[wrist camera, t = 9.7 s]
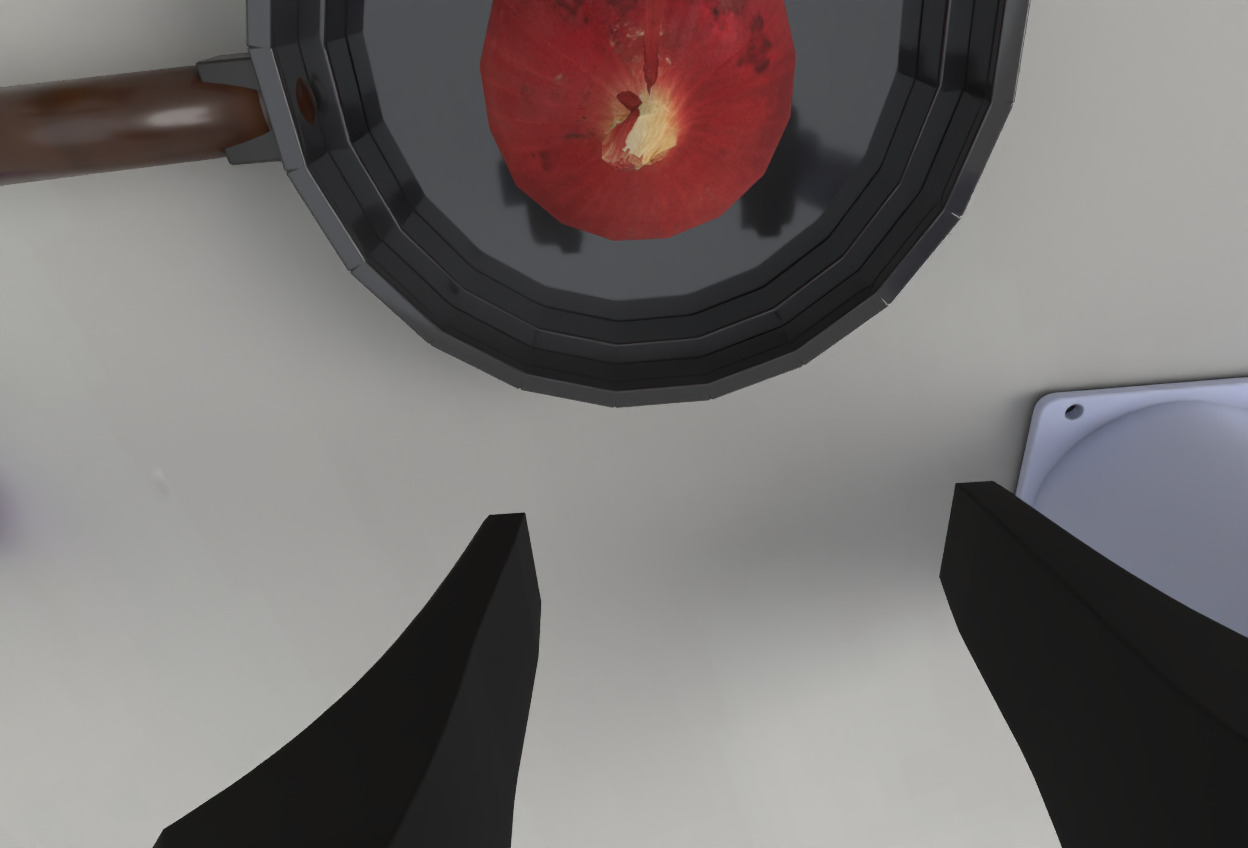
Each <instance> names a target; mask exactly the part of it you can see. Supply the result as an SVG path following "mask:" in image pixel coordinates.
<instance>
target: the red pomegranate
mask: <svg viewBox="0 0 1248 848" xmlns="http://www.w3.org/2000/svg"><path fill="white" fill-rule="evenodd" d="M795 62H796V52H795V48H794V43H793V39H792V34H791V30H790V26H789V21H788V17H787V12H786V8H785V4H784V0H493V3H492V7H491V12H490V17H489V21H488V26H487V31H486V36H485V40H484V45H483V50H482V54H481V59H480V64H479V66H480V73H481V79H482V85H483V92H484V98H485V104H486V111H487V117H488V123H489V129H490V131H491V133H492V136H493V138H494V140H495V142H496V144H497V146H498V148H499V150H500V153H501V155H502V157H503V159H504V161H505V163H506V165H507V167H508V169H509V172H510V174H511V176H512V178H513V180H514V182H515V184H516V186H517V187H518V188H520V189H521V190H522V191H523V192H524V193H526V194H527V195H528V196H529V197H530V198H532V199H533V200H534V201H535V202H536V203H538V204H539V205H540V206H541V207H542V208H544V209H545V210H546V211H547V212H548V213H550V214H551V215H552V216H553V217H554V218H556V219H557V220H558V221H559V222H560V223H562V224H565V225H568V226H571V227H574V228H577V229H580V230H583V231H586V232H589V233H592V234H594V235H597V236H600V237H603V238H606V239H609V240H612V241H622V240H643V239H663V238H670V237H672V236H674V235H677V234H679V233H682V232H684V231H687V230H689V229H691V228H694V227H696V226H699V225H701V224H703V223H706V222H708V221H711V220H713V219H716V218H718V217H720V216H721V215H723V214H724V213H725V212H726V211H727V210H728V209H729V208H730V207H731V206H732V205H733V204H734V203H735V202H736V201H737V200H738V199H739V198H740V197H741V196H742V195H743V194H744V193H745V192H746V191H747V190H748V189H749V188H750V187H751V186H752V185H753V184H755V183H756V182H757V181H758V180H759V179H760V178H761V177H762V176H763V175H764V174H765V172H766V169H767V167H768V165H769V163H770V161H771V158H772V156H773V154H774V152H775V150H776V148H777V145H778V143H779V141H780V139H781V137H782V134H783V132H784V130H785V128H786V126H787V123H788V121H789V119H790V117H791V106H792V95H793V84H794V73H795Z"/></svg>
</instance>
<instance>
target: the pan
mask: <svg viewBox="0 0 1248 848" xmlns="http://www.w3.org/2000/svg"><path fill="white" fill-rule="evenodd" d="M1030 1H1031V0H784V4H785V8H786V12H787V17H788V21H789V26H790V30H791V34H792V39H793V43H794V48H795V52H796V62H795V73H794V84H793V95H792V106H791V117H790V119H789V121H788V123H787V126H786V128H785V130H784V132H783V134H782V137H781V139H780V141H779V143H778V145H777V148H776V150H775V152H774V154H773V156H772V158H771V161H770V163H769V165H768V167H767V169H766V172H765V174H764V175H763V176H762V177H761V178H760V179H759V180H758V181H757V182H756V183H755V184H753V185H752V186H751V187H750V188H749V189H748V190H747V191H746V192H745V193H744V194H743V195H742V196H741V197H740V198H739V199H738V200H737V201H736V202H735V203H734V204H733V205H732V206H731V207H730V208H729V209H728V210H727V211H726V212H725V213H724V214H723V215H721V216H720V217H718V218H716V219H713V220H711V221H708V222H706V223H703V224H701V225H699V226H696V227H694V228H691V229H689V230H687V231H684V232H682V233H679V234H677V235H674V236H672V237H670V238H663V239H643V240H622V241H612V240H609V239H606V238H603V237H600V236H597V235H594V234H592V233H589V232H586V231H583V230H580V229H577V228H574V227H571V226H568V225H565V224H562V223H560V222H559V221H558V220H557V219H556V218H554V217H553V216H552V215H551V214H550V213H548V212H547V211H546V210H545V209H544V208H542V207H541V206H540V205H539V204H538V203H536V202H535V201H534V200H533V199H532V198H530V197H529V196H528V195H527V194H526V193H524V192H523V191H522V190H521V189H520V188H518V187H517V186H516V184H515V182H514V180H513V178H512V176H511V174H510V172H509V169H508V167H507V165H506V163H505V161H504V159H503V157H502V155H501V153H500V150H499V148H498V146H497V144H496V142H495V140H494V138H493V136H492V133H491V131H490V129H489V123H488V117H487V111H486V104H485V98H484V92H483V85H482V79H481V73H480V66H479V64H480V59H481V54H482V50H483V45H484V40H485V36H486V31H487V26H488V21H489V17H490V12H491V7H492V3H493V0H246V31H247V46H249V47H248V52H249V56H250V59H251V62H252V65H253V69H254V72H255V75H256V78H257V82H258V85H259V88H260V91H261V95H262V98H263V101H264V104H265V108H266V111H267V114H268V117H269V121H270V124H271V127H272V130H273V134H274V137H275V140H276V143H277V147H278V150H279V153H280V156H281V160H282V163H283V166H284V169H285V171H287V176H288V177H289V179H290V180H291V182H292V183H293V185H294V187H295V188H296V190H297V191H298V193H299V194H300V196H301V197H302V199H303V201H304V202H305V204H306V205H307V207H308V208H309V210H310V212H311V213H312V215H313V216H314V218H315V219H316V221H317V223H318V224H319V226H320V227H321V229H322V230H323V232H324V233H325V235H326V237H327V238H328V240H329V241H330V243H331V244H332V246H333V248H334V249H335V251H336V252H337V254H338V255H339V257H340V259H341V260H342V262H343V263H344V265H345V266H346V268H347V269H348V270H349V271H350V273H351V274H352V275H353V276H354V277H355V278H356V279H357V280H358V281H360V282H361V283H362V284H363V285H364V286H365V287H366V288H367V289H368V290H370V291H371V292H372V293H373V294H374V295H375V296H376V297H377V298H378V299H380V300H381V301H382V302H383V303H384V304H385V305H386V306H387V307H388V308H390V309H391V310H392V311H393V312H394V313H395V314H396V315H397V316H398V317H400V318H401V319H402V320H403V321H404V322H405V323H406V324H407V325H408V326H410V327H411V328H412V329H413V330H414V331H415V332H416V333H417V334H418V335H420V336H421V337H422V338H423V339H424V340H425V341H426V342H427V343H431V345H432V346H433V347H435V348H437V349H439V350H441V351H443V352H445V353H447V354H449V355H451V356H454V357H456V358H458V359H460V360H462V361H464V362H466V363H468V364H470V365H472V366H474V367H476V368H478V369H480V370H482V371H484V372H486V373H488V374H490V375H492V376H494V377H496V378H498V379H500V380H502V381H504V382H506V383H508V384H510V385H512V386H514V387H516V388H518V389H519V388H521V390H524V391H530V392H535V393H540V394H545V395H550V396H556V397H561V398H566V399H571V400H576V401H582V402H587V403H592V404H597V405H602V406H607V407H616V408H620V407H632V406H644V405H656V404H669V403H681V402H693V401H705V400H710V398H711V399H715V398H718V397H720V396H723V395H726V394H728V393H731V392H734V391H737V390H739V389H742V388H745V387H747V386H750V385H753V384H756V383H758V382H761V381H764V380H766V379H769V378H772V377H775V376H777V375H780V374H783V373H786V372H788V371H791V370H794V369H796V368H799V367H802V366H803V365H806V364H807V363H808V362H810V361H811V360H813V359H814V358H815V357H817V356H818V355H820V354H821V353H823V352H824V351H825V350H827V349H828V348H830V347H831V346H832V345H834V344H835V343H837V342H838V341H839V340H841V339H842V338H844V337H845V336H846V335H848V334H849V333H851V332H852V331H853V330H855V329H856V328H858V327H859V326H860V325H862V324H863V323H865V322H866V321H868V320H869V319H870V318H872V317H873V316H875V315H876V314H877V313H879V312H880V311H882V310H883V309H884V308H886V307H887V306H888V304H890V303H891V302H892V301H893V300H894V299H895V297H896V296H897V295H898V294H899V293H900V291H901V290H902V289H903V288H904V286H905V285H906V284H907V283H908V282H909V280H910V279H911V278H912V277H913V276H914V274H915V273H916V272H917V271H918V270H919V268H920V267H921V266H922V265H923V263H924V262H925V261H926V260H927V259H928V257H929V256H930V255H931V254H932V253H933V251H934V250H935V249H936V248H937V247H938V245H939V244H940V243H941V242H942V240H943V239H944V238H945V237H946V236H947V234H948V233H949V232H950V231H951V230H952V228H953V227H954V226H955V225H956V224H957V222H958V221H959V220H960V218H961V217H960V216H962V215H963V213H964V211H965V209H966V207H967V205H968V202H969V200H970V198H971V196H972V194H973V192H974V189H975V187H976V185H977V183H978V181H979V178H980V176H981V174H982V172H983V170H984V167H985V165H986V163H987V161H988V159H989V157H990V154H991V152H992V150H993V148H994V146H995V143H996V141H997V139H998V137H999V135H1000V132H1001V130H1002V128H1003V126H1004V124H1005V122H1006V119H1007V117H1008V115H1009V113H1010V111H1011V108H1012V106H1013V104H1012V103H1013V102H1014V100H1015V94H1016V88H1017V82H1018V76H1019V69H1020V63H1021V57H1022V51H1023V45H1024V38H1025V32H1026V26H1027V20H1028V14H1029V7H1030ZM299 77H303V78H304V79H305V80H306V81H307V82H308V84H309V85H310V87H311V89H312V91H313V93H314V96H315V99H316V103H317V118H316V122H315V124H314V125H313V126H311V125H309V124H308V123H307V122H306V120H305V119H304V117H303V115H302V112H301V110H300V107H299V103H298V99H297V90H296V87H297V80H298V78H299Z"/></svg>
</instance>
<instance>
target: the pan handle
mask: <svg viewBox="0 0 1248 848" xmlns="http://www.w3.org/2000/svg"><path fill="white" fill-rule="evenodd" d="M296 90H297V99H298V103H299V107H300V110H301V112H302V115H303V117H304V119H305V120H306V122H307V123H308V124H309V125H311V126H313V125H314V124H315V122H316V118H317V103H316V99H315V96H314V93H313V91H312V89H311V87H310V85H309V84H308V82H307V81H306V80H305V79H304V78H303V77H299V78H298V80H297V87H296ZM223 157H227V158H228V161H229V163H230V164H231V165H242V164H252V163H263V162H273V161H282V160H281V156H280V153H279V150H278V147H277V143H276V140H275V137H274V134H273V130H272V127H271V124H270V121H269V117H268V114H267V111H266V108H265V104H264V101H263V98H262V95H261V91H260V88H259V85H258V82H257V78H256V75H255V72H254V69H253V65H252V62H251V59H250V56H249V53H240V54H230V55H221V56H217V57H213V58H210V59H206V60H202V61H199V62H197V63H196V65H194V66H186V67H177V68H168V69H159V70H150V71H141V72H133V73H124V74H115V75H106V76H97V77H88V78H80V79H71V80H62V81H53V82H44V83H35V84H27V85H18V86H9V87H0V186H1V185H9V184H17V183H25V182H33V181H41V180H49V179H57V178H65V177H73V176H80V175H88V174H96V173H104V172H112V171H120V170H128V169H136V168H144V167H152V166H159V165H167V164H175V163H183V162H191V161H199V160H207V159H215V158H223Z"/></svg>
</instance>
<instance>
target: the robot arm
mask: <svg viewBox="0 0 1248 848" xmlns="http://www.w3.org/2000/svg"><path fill="white" fill-rule="evenodd" d="M1075 404H1077V405H1076V407H1075V408H1074V409H1073V410H1072V411H1071V412H1068V413H1065V412H1066V410H1067V408H1069V407H1070V406H1071V405H1075ZM939 577H940V580H941V583H942V586H943V589H944V592H945V595H946V597H947V600H948V603H949V606H950V609H951V611H952V614H953V617H954V619H955V622H956V625H957V627H958V630H959V632H960V634H961V636H962V638H963V640H964V642H965V644H966V646H967V648H968V650H969V652H970V654H971V656H972V658H973V659H974V661H975V663H976V665H977V667H978V669H979V671H980V673H981V675H982V677H983V679H984V681H985V682H986V684H987V686H988V688H989V690H990V692H991V694H992V696H993V698H994V699H995V701H996V703H997V705H998V707H999V709H1000V711H1001V713H1002V715H1003V717H1004V718H1005V720H1006V722H1007V724H1008V726H1009V728H1010V730H1011V732H1012V734H1013V735H1014V737H1015V739H1016V741H1017V743H1018V745H1019V747H1020V749H1021V751H1022V753H1023V755H1024V757H1025V759H1026V761H1027V763H1028V765H1029V768H1030V770H1031V772H1032V774H1033V776H1034V778H1035V781H1036V783H1037V786H1038V788H1039V791H1040V793H1041V796H1042V798H1043V801H1044V803H1045V806H1046V808H1047V811H1048V813H1049V816H1050V818H1051V821H1052V823H1053V826H1054V828H1055V830H1056V833H1057V835H1058V838H1059V841H1060V843H1061V846H1062V848H1248V377H1242V378H1230V379H1217V380H1205V381H1193V382H1181V383H1168V384H1156V385H1144V386H1131V387H1119V388H1107V389H1095V390H1082V391H1070V392H1058V393H1051V394H1047V395H1046V396H1044V397H1042V398H1041V399H1040V400H1039V401H1038V402H1037V403H1036V405H1035V407H1034V411H1033V415H1032V420H1031V425H1030V429H1029V434H1028V439H1027V443H1026V448H1025V453H1024V457H1023V462H1022V467H1021V471H1020V476H1019V481H1018V485H1017V490H1016V495H1014V494H1012V493H1011V492H1009V491H1008V490H1006V489H1005V488H1003V487H1002V486H1000V485H999V484H997V483H995V482H994V481H985V482H970V483H956V484H955V490H954V496H953V501H952V507H951V513H950V519H949V524H948V530H947V536H946V541H945V547H944V553H943V559H942V564H941V570H940V576H939ZM540 617H541V598H540V593H539V587H538V581H537V576H536V570H535V565H534V559H533V554H532V548H531V543H530V537H529V531H528V526H527V520H526V515H525V513H511V514H496V515H489V516H488V517H487V518H486V519H485V520H484V522H483V523H482V525H481V526H480V528H479V529H478V531H477V533H476V534H475V536H474V537H473V539H472V540H471V542H470V543H469V545H468V546H467V548H466V549H465V551H464V552H463V554H462V555H461V557H460V558H459V560H458V561H457V563H456V564H455V565H454V567H453V568H452V570H451V571H450V573H449V574H448V575H447V577H446V578H445V579H444V581H443V582H442V583H441V585H440V586H439V588H438V589H437V590H436V592H435V593H434V594H433V596H432V597H431V598H430V600H429V601H428V602H427V604H426V605H425V606H424V608H423V609H422V610H421V611H420V612H419V614H418V615H417V616H416V617H415V618H414V620H413V621H412V622H411V623H410V625H409V626H408V627H407V628H406V629H405V631H404V632H403V633H402V634H401V635H400V637H399V638H398V639H397V640H396V641H395V642H394V644H393V645H392V646H391V647H390V648H389V649H388V650H387V651H386V653H385V654H384V655H383V656H382V657H381V658H380V659H379V660H378V661H377V662H376V663H375V664H374V665H373V666H372V668H371V669H370V670H369V671H368V672H367V673H366V674H365V675H364V676H363V677H362V678H361V679H360V680H359V681H358V682H357V683H356V684H355V685H354V686H353V687H352V688H351V689H350V690H348V691H347V692H346V693H345V694H344V695H343V696H342V697H341V698H340V699H339V700H338V701H337V702H335V703H334V704H333V705H332V706H331V707H330V708H329V709H327V710H326V711H325V712H324V713H323V714H322V715H321V716H320V717H318V718H317V719H316V720H315V721H314V722H313V723H312V724H311V725H309V726H308V727H307V728H306V729H305V730H304V731H302V732H301V733H300V734H299V735H297V736H296V737H295V738H294V739H292V740H291V741H290V742H289V743H287V744H286V745H285V746H283V747H282V748H281V749H280V750H278V751H277V752H276V753H275V754H273V755H272V756H271V757H269V758H268V759H267V760H265V761H264V762H262V763H261V764H260V765H258V766H257V767H256V768H254V769H253V770H252V771H250V772H249V773H248V774H246V775H245V776H243V777H242V778H241V779H239V780H238V781H236V782H235V783H234V784H232V785H231V786H229V787H228V788H226V789H225V790H223V791H222V792H220V793H219V794H217V795H216V796H214V797H213V798H211V799H210V800H208V801H206V802H205V803H203V804H202V805H200V806H199V807H197V808H196V809H194V810H193V811H191V812H190V813H188V814H187V815H185V816H184V817H182V818H181V819H179V820H178V821H176V822H174V823H173V824H171V825H170V826H168V827H166V828H165V829H163V831H162V833H161V834H160V836H159V838H158V839H157V841H156V843H155V844H154V846H153V848H511V836H512V823H513V810H514V800H515V793H516V785H517V777H518V772H519V766H520V760H521V755H522V749H523V743H524V738H525V732H526V726H527V720H528V715H529V709H530V703H531V698H532V692H533V686H534V680H535V674H536V668H537V662H538V655H539V638H540Z"/></svg>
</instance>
